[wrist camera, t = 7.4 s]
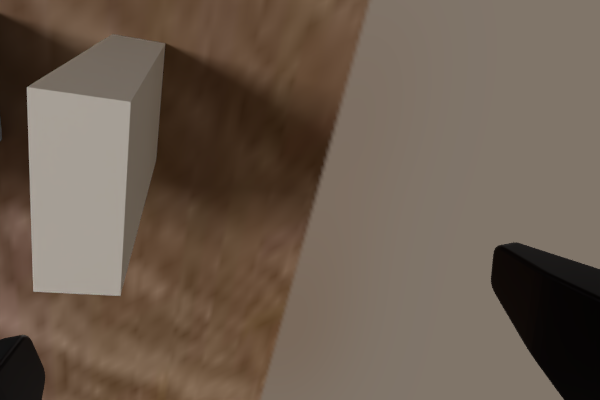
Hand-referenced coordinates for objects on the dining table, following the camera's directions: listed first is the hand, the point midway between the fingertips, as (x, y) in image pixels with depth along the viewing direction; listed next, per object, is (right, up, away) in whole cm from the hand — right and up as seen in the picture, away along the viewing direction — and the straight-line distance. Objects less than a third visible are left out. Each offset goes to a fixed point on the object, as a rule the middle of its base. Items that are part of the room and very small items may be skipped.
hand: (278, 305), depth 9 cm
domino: (-6, +6, +11) cm, 14 cm away
